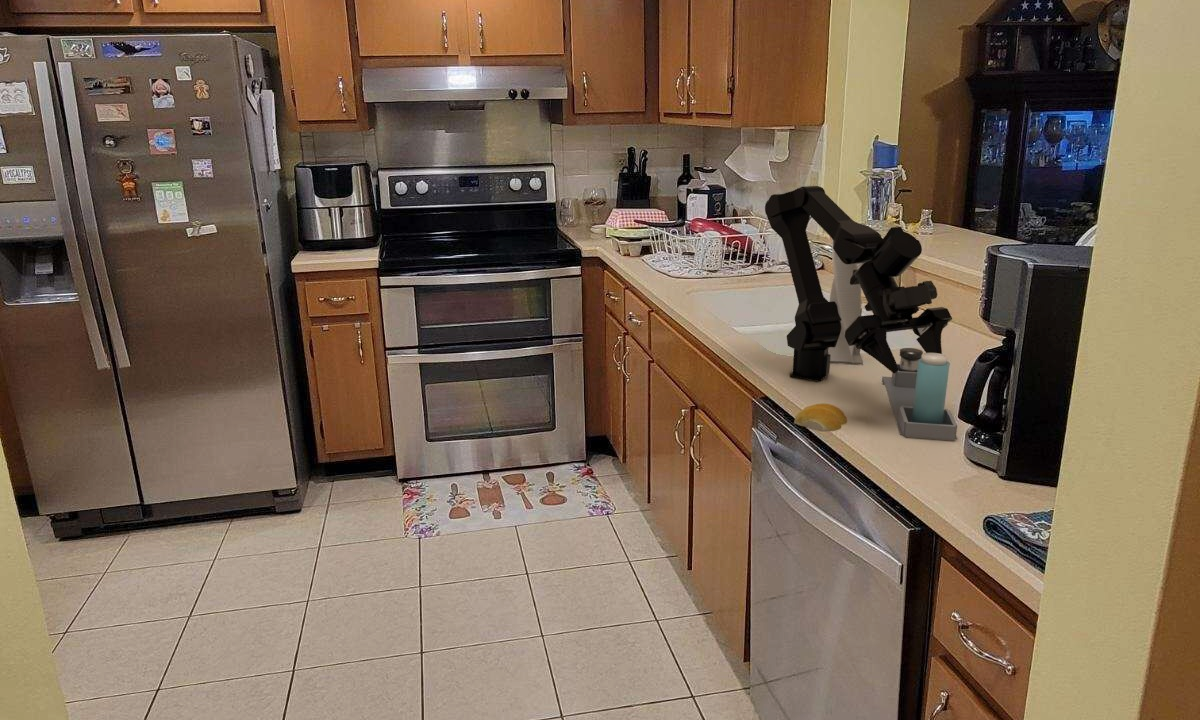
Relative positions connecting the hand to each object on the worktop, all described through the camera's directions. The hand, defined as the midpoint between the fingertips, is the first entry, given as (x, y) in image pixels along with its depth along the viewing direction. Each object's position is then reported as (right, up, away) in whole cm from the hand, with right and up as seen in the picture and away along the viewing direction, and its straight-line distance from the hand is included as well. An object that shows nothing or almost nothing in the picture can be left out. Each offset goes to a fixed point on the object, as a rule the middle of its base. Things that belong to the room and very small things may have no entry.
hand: (918, 368), depth 140 cm
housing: (+4, -8, +12) cm, 15 cm away
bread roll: (-15, -10, +5) cm, 19 cm away
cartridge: (+1, -10, 0) cm, 10 cm away
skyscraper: (-1, +1, +41) cm, 41 cm away
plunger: (+7, -2, +23) cm, 24 cm away
